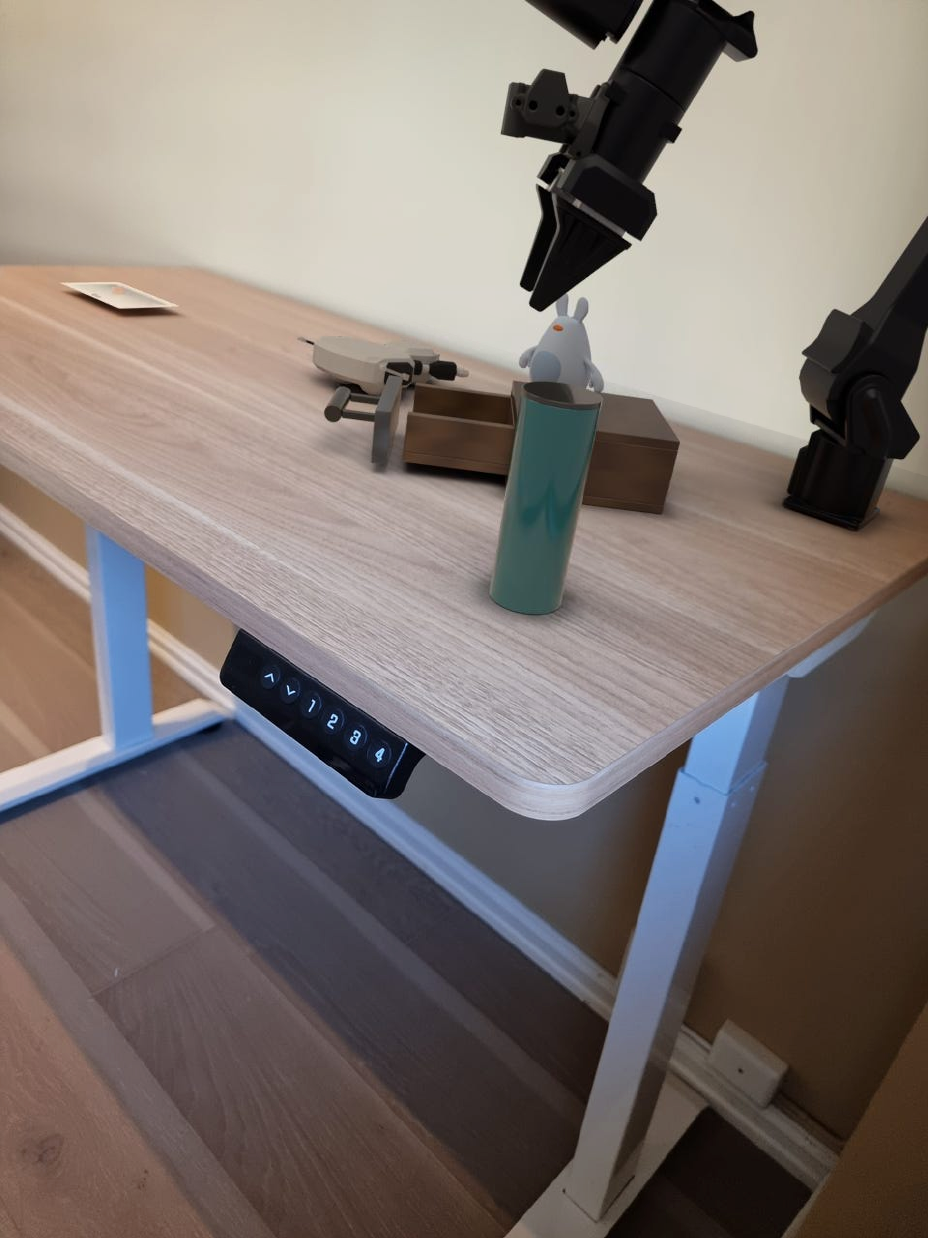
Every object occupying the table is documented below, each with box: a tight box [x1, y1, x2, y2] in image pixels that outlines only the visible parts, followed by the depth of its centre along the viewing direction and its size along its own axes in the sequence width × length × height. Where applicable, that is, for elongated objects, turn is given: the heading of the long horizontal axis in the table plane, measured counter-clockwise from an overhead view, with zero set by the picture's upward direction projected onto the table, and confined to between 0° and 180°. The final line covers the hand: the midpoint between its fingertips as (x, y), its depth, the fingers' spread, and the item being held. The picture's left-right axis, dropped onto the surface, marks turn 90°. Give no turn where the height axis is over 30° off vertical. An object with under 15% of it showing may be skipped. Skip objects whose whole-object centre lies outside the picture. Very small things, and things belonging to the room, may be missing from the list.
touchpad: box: [60, 281, 180, 310], centre depth 111 cm, size 8×15×2 cm, turn 46°
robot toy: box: [296, 335, 470, 397], centre depth 92 cm, size 12×4×15 cm
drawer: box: [323, 375, 516, 476], centre depth 73 cm, size 16×11×4 cm
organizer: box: [504, 380, 681, 515], centre depth 73 cm, size 12×12×6 cm
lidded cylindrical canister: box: [488, 381, 603, 615], centre depth 51 cm, size 4×4×12 cm
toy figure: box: [518, 292, 605, 393], centre depth 88 cm, size 11×6×12 cm, turn 47°
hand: (529, 298), depth 67 cm, fingers open, 9 cm apart
